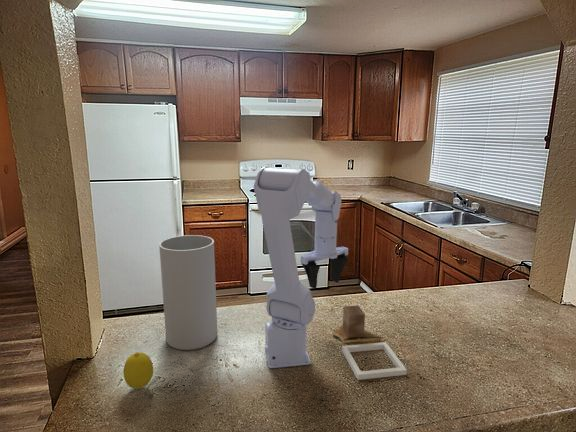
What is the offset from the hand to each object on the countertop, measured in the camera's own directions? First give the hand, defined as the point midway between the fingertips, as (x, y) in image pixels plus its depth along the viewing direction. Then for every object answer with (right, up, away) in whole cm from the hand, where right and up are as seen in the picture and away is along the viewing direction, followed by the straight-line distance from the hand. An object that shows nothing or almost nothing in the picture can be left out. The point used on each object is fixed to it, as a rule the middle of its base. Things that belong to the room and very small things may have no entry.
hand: (324, 284), depth 103 cm
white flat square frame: (+9, -15, -17) cm, 24 cm away
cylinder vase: (-34, -12, -7) cm, 37 cm away
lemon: (-40, -17, -26) cm, 50 cm away
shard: (+7, -13, -5) cm, 16 cm away
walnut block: (+7, -11, -6) cm, 14 cm away
